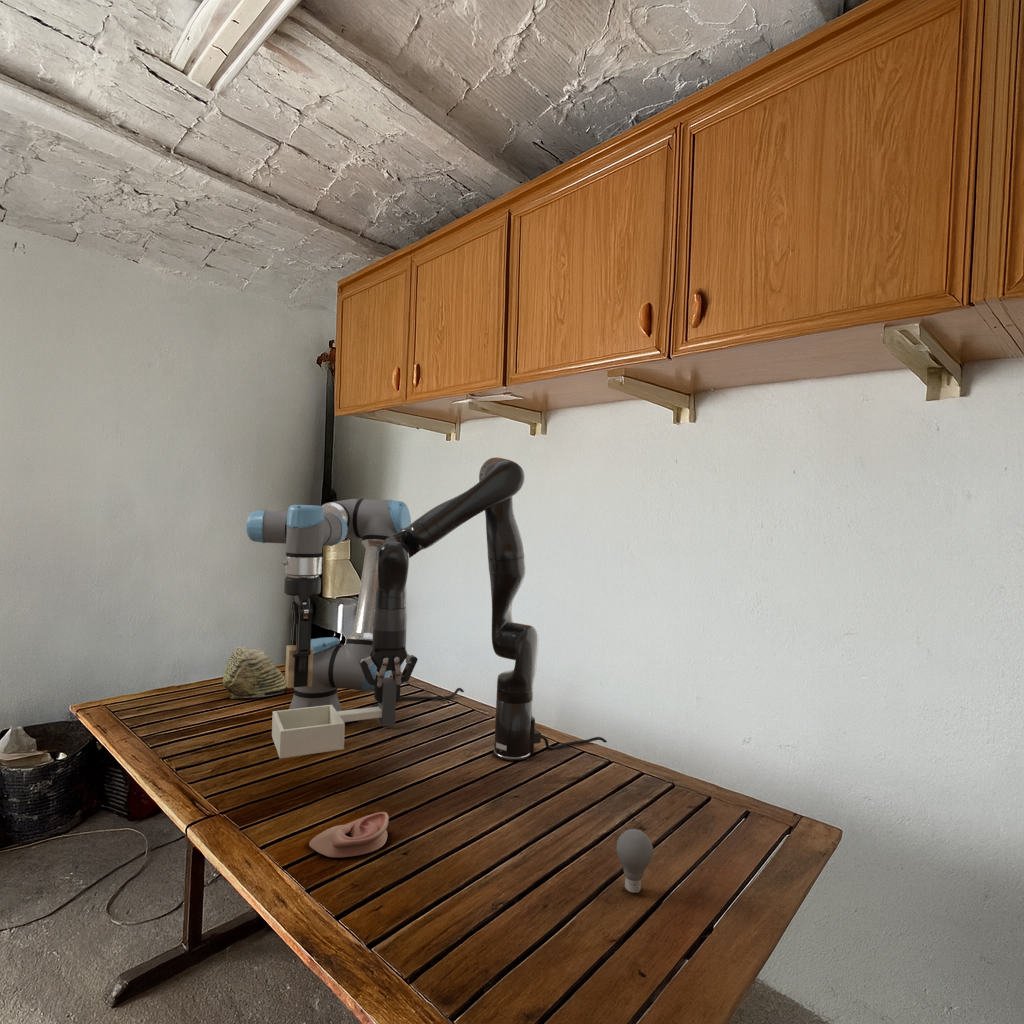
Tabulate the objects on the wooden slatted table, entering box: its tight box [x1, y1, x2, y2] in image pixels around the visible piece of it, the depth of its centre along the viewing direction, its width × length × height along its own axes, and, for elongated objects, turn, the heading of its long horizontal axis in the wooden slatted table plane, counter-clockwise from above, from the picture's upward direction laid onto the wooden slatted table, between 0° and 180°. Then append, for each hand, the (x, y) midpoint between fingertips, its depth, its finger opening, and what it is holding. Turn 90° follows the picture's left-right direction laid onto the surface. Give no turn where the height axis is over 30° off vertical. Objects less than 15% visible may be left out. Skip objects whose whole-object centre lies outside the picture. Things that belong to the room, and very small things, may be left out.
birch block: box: [284, 644, 313, 689], centre depth 138 cm, size 5×5×8 cm
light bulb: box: [615, 828, 654, 894], centre depth 106 cm, size 6×6×10 cm
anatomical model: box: [308, 811, 390, 859], centre depth 117 cm, size 13×4×12 cm
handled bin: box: [271, 676, 397, 759], centre depth 140 cm, size 26×13×12 cm, turn 117°
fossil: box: [222, 646, 287, 699], centre depth 198 cm, size 9×18×15 cm, turn 132°
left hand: (298, 682), depth 138 cm, fingers closed on birch block, 5 cm apart
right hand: (387, 700), depth 146 cm, fingers closed on handled bin, 3 cm apart
